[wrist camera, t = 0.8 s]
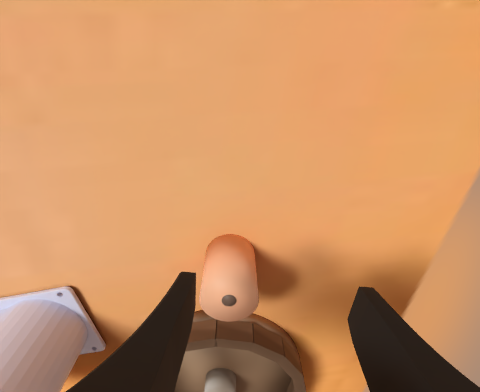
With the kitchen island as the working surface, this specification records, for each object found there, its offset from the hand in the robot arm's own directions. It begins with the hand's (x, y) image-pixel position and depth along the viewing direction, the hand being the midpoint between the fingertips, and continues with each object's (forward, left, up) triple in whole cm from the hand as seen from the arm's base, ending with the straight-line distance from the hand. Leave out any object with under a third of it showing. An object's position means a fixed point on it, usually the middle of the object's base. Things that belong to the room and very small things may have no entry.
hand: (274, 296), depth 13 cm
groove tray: (-7, -18, -10) cm, 22 cm away
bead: (-3, -5, -10) cm, 12 cm away
